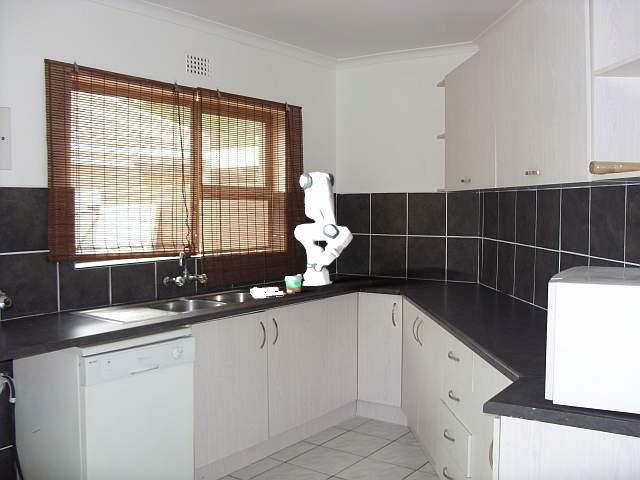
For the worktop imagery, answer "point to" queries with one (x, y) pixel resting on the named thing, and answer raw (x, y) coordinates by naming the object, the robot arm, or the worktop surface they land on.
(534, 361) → the worktop surface
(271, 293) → the white cutting board
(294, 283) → the food container
